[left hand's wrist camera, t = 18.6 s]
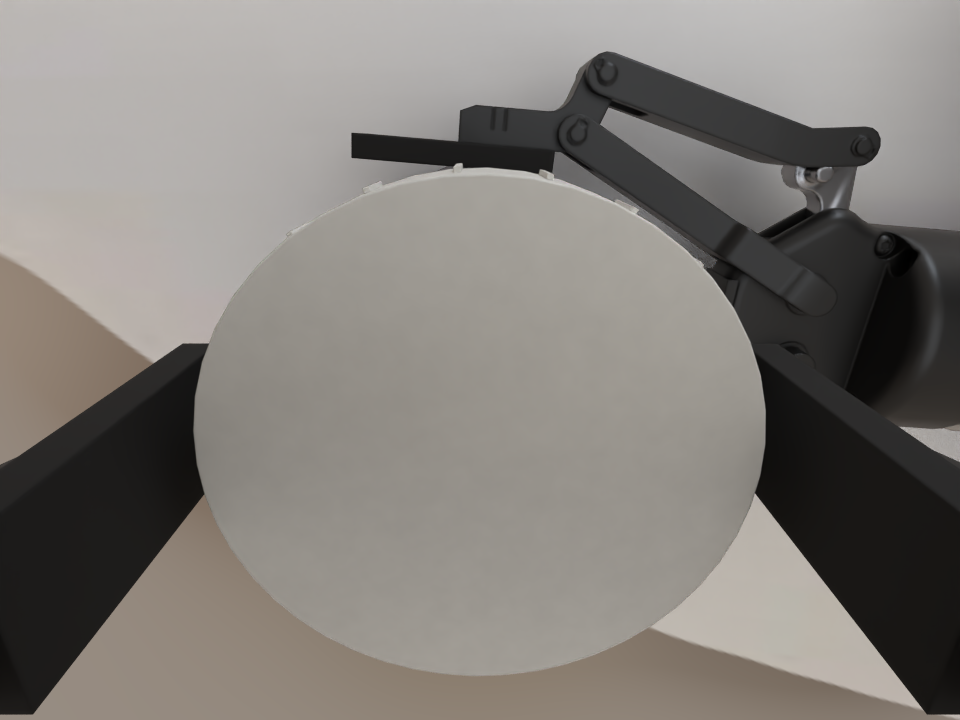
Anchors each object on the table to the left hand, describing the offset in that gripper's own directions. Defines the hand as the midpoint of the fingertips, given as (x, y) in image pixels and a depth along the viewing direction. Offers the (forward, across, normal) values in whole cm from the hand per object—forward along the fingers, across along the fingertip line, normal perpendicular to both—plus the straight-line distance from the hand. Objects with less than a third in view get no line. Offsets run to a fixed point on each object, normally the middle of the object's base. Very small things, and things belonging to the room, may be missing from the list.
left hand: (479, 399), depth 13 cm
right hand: (+9, -4, 0) cm, 10 cm away
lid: (-3, 0, 0) cm, 3 cm away
